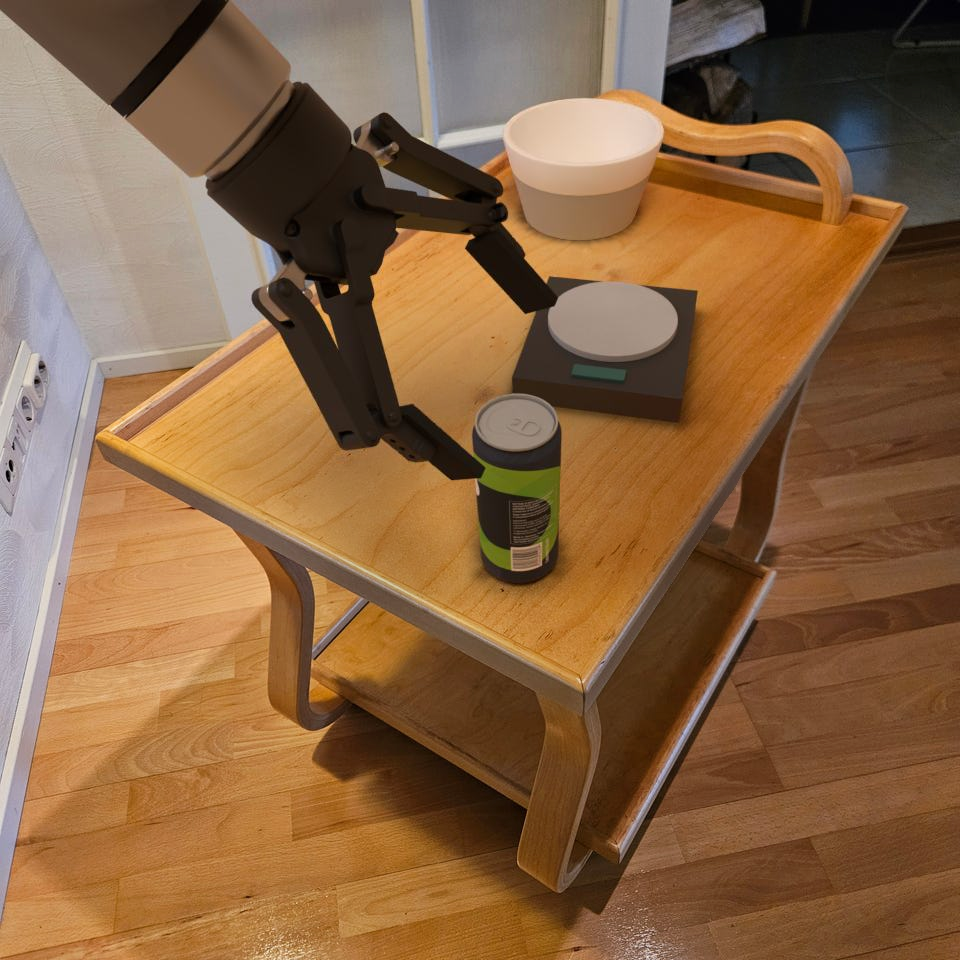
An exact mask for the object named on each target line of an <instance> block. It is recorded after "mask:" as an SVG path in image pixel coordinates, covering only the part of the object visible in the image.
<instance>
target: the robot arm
mask: <svg viewBox="0 0 960 960" xmlns="http://www.w3.org/2000/svg"><path fill="white" fill-rule="evenodd" d="M0 11H1V12H2V14H4V15H5V16H6V17H7V18H9V19H10V20H11V21H12V22H13V23H14V24H15V25H16V26H17V27H19V28H20V29H21V31H23V32H24V33H25V34H27V36H29V37H30V38H32V40H33V41H34V42H35V43H36V44H38V45H39V46H40V47H42V48H43V50H45V51H46V52H47V53H48V54H50V56H52V58H54V59H55V60H56V61H57V62H59V64H61V65H62V66H63V67H64V68H65V69H66V70H67V71H69V72H70V73H71V74H72V75H73V76H75V78H77V79H78V80H79V81H80V82H81V83H83V84H84V85H85V86H86V87H87V88H88V89H89V90H90V91H92V93H94V94H95V95H96V96H97V97H98V98H100V100H102V101H103V102H104V103H105V104H106V105H108V106H110V107H111V108H112V109H113V110H114V111H116V113H118V114H119V115H120V116H121V117H122V118H124V120H125V121H126V122H127V123H129V124H130V125H131V126H132V127H133V128H134V129H135V130H136V131H137V132H139V134H141V135H142V136H143V137H144V138H145V139H146V140H147V141H148V142H149V143H151V144H152V145H153V146H154V147H155V148H156V149H157V150H158V151H160V152H161V153H162V154H163V155H164V156H165V157H166V158H168V160H169V161H171V162H172V163H173V164H174V165H175V166H176V167H178V169H180V170H181V171H182V172H183V173H184V174H185V175H186V176H187V177H189V178H191V179H192V178H194V179H195V178H199V177H203V176H205V177H206V181H205V188H206V190H207V192H206V194H207V196H208V197H209V198H211V199H212V200H213V201H214V202H215V203H216V204H217V205H218V206H219V207H220V208H221V209H222V210H224V211H225V212H226V213H227V214H228V215H229V216H230V217H231V218H233V219H234V220H235V221H236V222H237V223H238V224H239V225H240V226H242V228H244V230H246V231H247V232H248V233H249V234H251V235H252V236H253V237H255V238H257V239H259V240H261V241H262V242H264V243H266V244H267V245H269V246H270V247H271V248H273V250H274V251H275V253H276V254H277V255H278V258H279V259H280V262H281V264H282V267H281V268H279V270H278V271H277V272H276V274H275V275H274V276H273V277H272V278H271V280H270V281H269V282H268V283H267V284H264V285H261V286H259V287H257V288H256V289H254V290H253V291H252V293H251V296H250V297H251V303H252V305H253V306H254V308H255V309H256V310H257V311H258V312H259V313H260V314H261V315H262V317H264V319H266V320H267V321H268V323H270V325H271V326H273V328H274V329H276V331H278V333H279V335H280V337H281V339H282V340H283V342H284V345H285V346H286V348H287V350H288V353H289V354H290V356H291V358H292V360H293V362H294V364H295V366H296V368H297V369H298V371H299V373H300V376H301V377H302V379H303V381H304V383H305V384H306V386H307V388H308V391H309V392H310V394H311V396H312V398H313V400H314V402H315V404H316V406H317V408H318V409H319V411H320V413H321V416H322V417H323V419H324V421H325V423H326V425H327V426H328V428H329V431H330V433H331V434H332V437H333V438H334V440H335V442H336V444H337V446H338V447H339V448H340V450H343V451H348V452H349V451H354V450H362V449H369V448H375V447H377V446H378V445H379V444H380V442H381V440H382V441H383V442H385V443H386V444H387V445H388V446H390V448H392V449H393V450H394V451H396V453H398V454H399V455H401V456H402V457H403V458H404V459H405V460H407V461H408V462H412V463H417V464H418V463H426V462H428V463H429V464H430V465H432V466H433V467H434V468H435V469H436V470H437V471H439V472H440V473H442V475H444V476H445V477H446V478H447V479H449V480H450V481H464V480H473V479H474V480H475V479H477V478H482V475H483V473H484V471H485V468H486V467H484V466H483V465H482V464H481V463H480V462H479V461H478V460H476V459H475V458H474V456H473V455H472V454H471V453H470V452H469V451H467V449H465V448H464V447H463V446H462V445H461V444H459V443H458V442H457V441H456V440H455V439H454V438H452V436H451V435H450V434H448V433H447V432H446V431H445V430H444V429H442V428H441V427H440V426H439V425H438V424H437V423H436V422H434V421H433V420H432V419H431V418H430V417H429V416H427V415H426V413H424V412H423V411H422V410H421V409H420V408H418V407H417V406H416V405H415V404H414V403H410V404H409V403H408V404H404V405H400V402H399V399H398V395H397V392H396V387H395V384H394V380H393V376H392V373H391V369H390V366H389V363H388V362H389V361H388V359H387V355H386V351H385V347H384V343H383V340H382V336H381V333H380V329H379V325H378V322H377V318H376V315H375V310H374V308H373V301H374V299H375V294H376V293H375V288H374V285H373V280H372V278H371V277H373V276H376V275H377V274H378V272H379V270H380V269H381V267H382V265H383V262H384V258H385V253H386V251H387V250H388V249H389V248H390V247H391V246H392V245H393V244H395V242H396V240H397V237H398V236H399V235H400V232H398V230H397V229H402V230H413V231H423V232H431V233H441V234H442V233H443V234H450V235H451V234H453V235H460V236H461V235H463V236H471V235H472V236H473V238H469V240H468V241H467V243H466V245H465V247H464V250H465V251H466V252H467V253H468V254H469V255H470V256H471V258H473V260H475V262H476V263H477V264H478V265H479V266H480V267H481V268H482V269H483V271H485V272H486V274H488V276H489V277H490V278H491V279H492V280H493V281H494V282H495V283H496V284H497V286H498V287H500V289H501V290H502V291H503V292H504V293H505V295H507V297H509V298H510V300H511V301H512V302H513V303H514V304H515V305H516V306H517V307H518V308H519V310H521V312H522V313H523V314H524V315H527V314H531V313H536V311H539V310H543V309H546V308H550V307H554V306H555V304H556V302H557V300H558V297H557V295H556V294H555V293H554V292H553V291H552V290H551V289H550V287H549V286H548V285H547V284H546V283H547V282H546V281H545V280H544V279H543V278H542V277H541V276H540V275H539V273H537V271H536V270H535V269H534V268H533V267H532V266H531V264H530V263H529V262H528V261H527V260H526V258H525V257H526V253H525V251H524V247H523V246H522V245H521V244H520V243H519V241H517V239H516V238H515V237H514V236H513V235H512V234H511V232H509V230H508V229H507V228H506V227H505V226H504V224H503V223H504V222H506V221H507V220H508V219H509V210H508V207H507V205H506V204H505V203H503V202H502V201H499V202H497V201H498V198H501V197H502V196H503V194H504V187H503V183H502V182H501V181H500V180H499V178H497V177H495V176H493V175H490V174H489V173H487V172H485V171H483V170H481V169H479V168H477V167H475V166H474V165H472V164H469V163H468V162H465V161H463V160H461V159H459V158H457V157H455V156H454V155H451V154H449V153H447V152H444V151H443V150H441V149H439V148H437V147H435V146H433V145H431V144H429V143H427V142H425V141H423V140H421V139H419V138H417V137H415V136H413V135H411V133H409V131H407V130H406V129H405V128H404V127H403V126H402V125H401V124H400V123H399V122H398V121H397V120H396V118H394V117H393V115H391V114H390V113H388V112H385V111H383V112H380V113H379V114H377V115H376V116H374V117H372V118H371V119H369V120H367V121H366V122H364V123H363V124H361V125H359V126H357V127H356V128H355V129H354V131H353V134H352V132H351V130H350V128H349V126H348V125H347V124H346V123H345V122H344V121H343V120H342V119H341V118H340V117H339V116H338V114H337V113H336V112H335V111H334V110H333V109H332V107H330V106H329V105H328V103H327V102H326V101H325V100H324V99H323V98H322V97H321V96H320V94H318V92H316V90H314V88H313V87H312V86H311V85H310V84H309V83H308V82H301V81H294V82H292V81H291V80H290V78H291V74H292V65H291V63H290V62H289V61H288V59H287V58H286V57H285V56H284V55H283V54H282V53H281V52H280V50H278V49H277V48H276V46H274V44H273V43H271V41H270V40H269V39H268V38H267V37H266V36H265V35H264V34H263V32H261V31H260V30H259V29H258V28H257V27H256V25H255V24H254V23H253V22H252V21H251V20H250V19H249V18H248V17H247V16H246V15H245V13H243V11H242V10H241V9H240V8H239V7H238V6H237V5H236V4H235V3H234V2H233V1H232V0H0ZM352 136H353V137H352ZM352 141H354V143H355V144H354V143H352ZM381 168H383V169H385V170H386V171H388V172H390V173H392V174H394V175H397V176H399V177H401V178H403V179H406V180H408V181H410V182H412V183H414V184H417V185H419V186H421V187H423V188H425V189H427V190H430V191H432V192H433V193H436V194H439V195H441V196H443V197H444V198H441V197H433V196H427V195H426V196H425V195H419V194H418V192H417V191H416V190H415V191H414V190H408V189H401V188H394V187H388V186H387V187H386V183H385V181H384V178H383V175H382V171H381ZM306 281H309V282H313V284H314V287H315V290H316V294H317V298H318V301H319V306H320V308H321V311H322V312H323V314H325V315H327V316H328V317H329V321H330V324H331V329H332V332H333V335H334V337H333V335H332V333H331V332H330V330H329V328H328V326H327V324H326V322H325V320H324V318H323V316H322V314H321V313H320V312H319V310H318V308H317V307H316V306H315V305H314V303H313V302H312V301H311V300H312V299H313V297H314V293H313V291H312V290H311V288H307V286H306ZM340 286H347V287H348V288H347V291H345V292H342V291H341V289H340ZM334 338H335V339H334Z"/></svg>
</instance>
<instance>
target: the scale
mask: <svg viewBox="0 0 960 960" xmlns="http://www.w3.org/2000/svg"><path fill="white" fill-rule="evenodd" d="M545 283H546V284H547V285H548V286H549V287H550V289H551V290H552V291H553V292H554V293H555V294H556V295H557V297H558V300H557V302H556V304H555V306H554V307H550V308H546V309H543V310H539V311H535V312H534V313H535V314H534V316H533V319H532V321H531V324H530V328H529V330H528V333H527V335H526V337H525V341H524V344H523V345H522V349H521V352H520V355H519V357H518V360H517V363H516V366H515V368H514V371H513V374H512V375H511V376H512V377H511V394H528V395H533V396H536V397H539V398H541V399H543V400H545V401H546V402H548V403H549V404H550V405H551V406H552V407H553V408H562V409H569V410H578V411H585V412H592V413H600V414H608V415H616V416H622V417H631V418H639V419H646V420H652V421H662V422H668V423H677V424H679V423H680V418H681V417H680V416H681V411H682V405H683V399H684V392H685V384H686V378H687V371H688V364H689V356H690V349H691V343H692V335H693V334H692V333H693V327H694V320H695V313H696V307H697V299H698V292H699V291H698V290H695V289H686V288H676V287H675V288H674V287H667V286H666V287H664V286H656V285H645V284H644V285H643V284H636V283H631V282H626V281H625V282H624V281H614V280H613V281H609V280H608V281H602V280H592V279H583V278H582V279H581V278H572V277H561V276H552V275H549V276H548V279H547V280H546V282H545Z"/></svg>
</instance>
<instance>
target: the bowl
mask: <svg viewBox="0 0 960 960" xmlns="http://www.w3.org/2000/svg"><path fill="white" fill-rule="evenodd" d="M664 138H665V128H664V125H663V123H662V121H661V120H660V119H659V118H658V117H657V116H656V115H655V114H653V113H652V112H651V111H649V110H647V109H645V108H643V107H641V106H638V105H636V104H632V103H629V102H625V101H620V100H615V99H607V98H595V97H594V98H593V97H582V98H581V97H580V98H579V97H577V98H566V99H558V100H552V101H547V102H542V103H540V104H536V105H533V106H530V107H528V108H525V109H524V110H521V111H520V112H517V113H516V114H515V115H513V116H512V117H510V119H509V120H508V121H507V122H506V123H505V126H504V128H503V129H502V140H503V144H504V148H505V151H506V152H505V153H506V155H507V159H508V161H509V166H510V168H511V172H512V175H513V178H514V182H515V185H516V190H517V194H518V196H519V200H520V203H521V207H522V211H523V215H524V217H525V220H526V221H527V224H528V225H529V226H531V228H533V229H534V230H536V231H537V232H539V233H541V234H543V235H545V236H548V237H551V238H555V239H561V240H565V241H593V240H599V239H603V238H608V237H611V236H614V235H617V234H619V233H620V232H622V231H624V230H626V228H628V227H629V226H631V224H632V222H633V220H634V219H635V217H636V214H637V212H638V208H639V206H640V203H641V200H642V198H643V195H644V192H645V190H646V187H647V184H648V182H649V178H650V175H651V173H652V170H653V168H654V166H655V163H656V160H657V158H658V154H659V152H660V150H661V147H662V144H663V142H664Z"/></svg>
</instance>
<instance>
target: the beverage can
mask: <svg viewBox="0 0 960 960" xmlns="http://www.w3.org/2000/svg"><path fill="white" fill-rule="evenodd" d="M562 432H563V431H562V427H561V423H560V421H559V417H558V414H557V412H556V409H555V407H554V406H551V405H550V404H549V403H548V402H546V401H545V400H543V399H541V398H539V397H536V396H533V395H528V394H512V393H508V394H504V395H499V396H497V397H494V398H492V399H490V400H488V401H487V402H485V403H484V404H483V405H481V407H480V408H479V410H478V411H477V413H476V414H475V418H474V425H473V428H472V431H471V441H472V442H471V443H472V454H473V455H472V456H473V457H474V458H475V459H476V460H478V461H479V462H480V463H481V464H482V465H483V466H484V467H486V468H485V471H484V473H483V475H482V478H477V479H474V481H475V495H476V506H477V507H476V509H477V522H478V523H477V524H478V534H479V548H480V557H481V561H482V564H483V565H484V567H485V569H486V570H487V571H488V572H489V573H490V574H492V575H493V576H494V577H496V578H497V579H500V580H502V581H505V582H507V583H511V584H526V583H531V582H534V581H537V580H539V579H541V578H543V577H544V576H546V575H547V574H548V573H550V571H551V570H552V569H553V568H554V567H555V566H556V563H557V561H558V557H559V538H560V537H559V534H560V503H561V468H562V436H563V433H562Z"/></svg>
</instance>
